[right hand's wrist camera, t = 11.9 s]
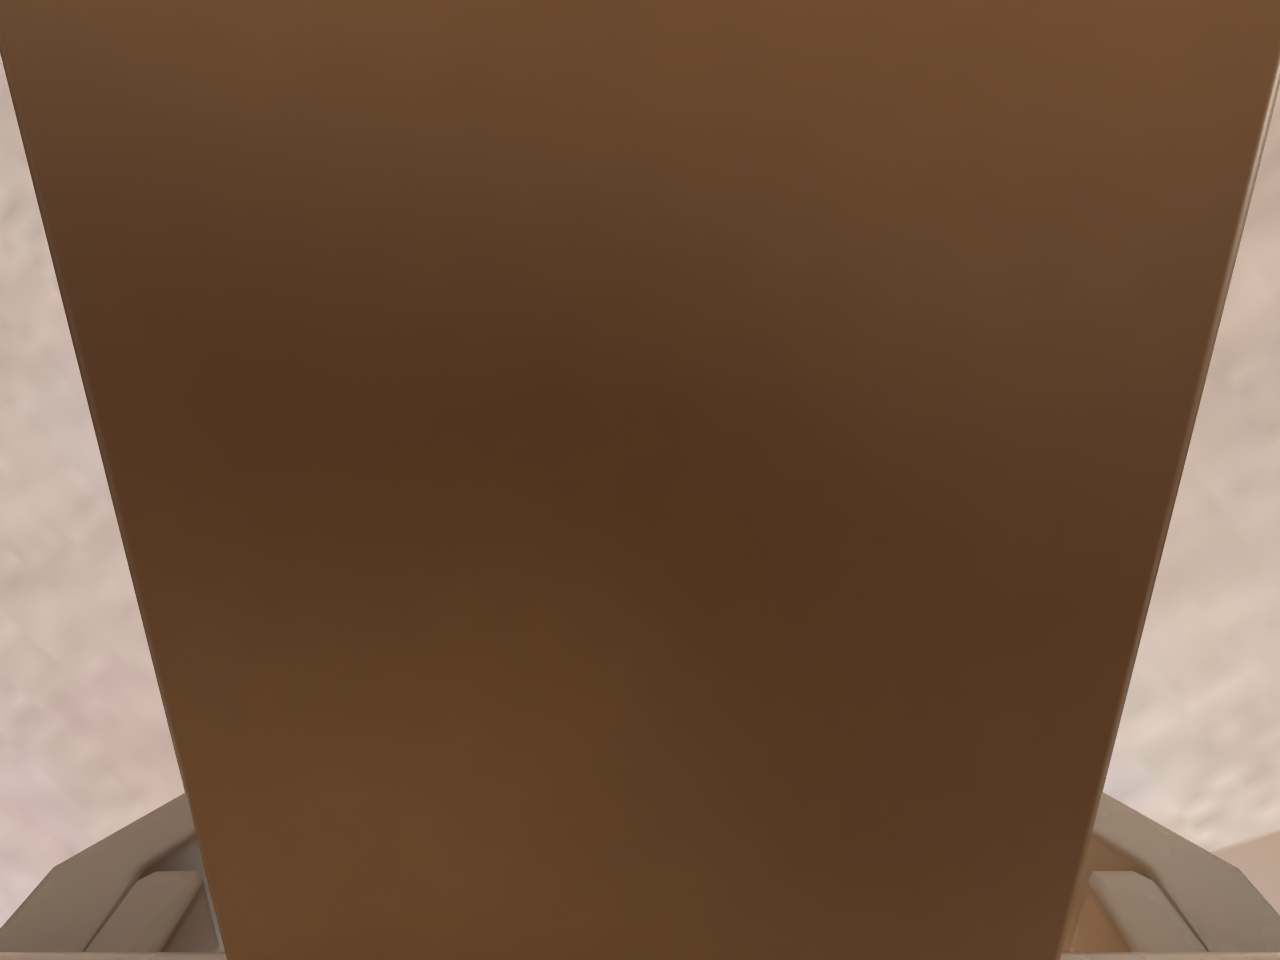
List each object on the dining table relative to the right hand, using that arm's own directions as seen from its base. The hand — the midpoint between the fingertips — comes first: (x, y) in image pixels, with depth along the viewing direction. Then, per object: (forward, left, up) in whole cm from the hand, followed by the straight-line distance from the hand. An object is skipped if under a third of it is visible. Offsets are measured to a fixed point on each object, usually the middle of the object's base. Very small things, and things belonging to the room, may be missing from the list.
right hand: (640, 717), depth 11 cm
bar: (+7, +6, -3) cm, 10 cm away
